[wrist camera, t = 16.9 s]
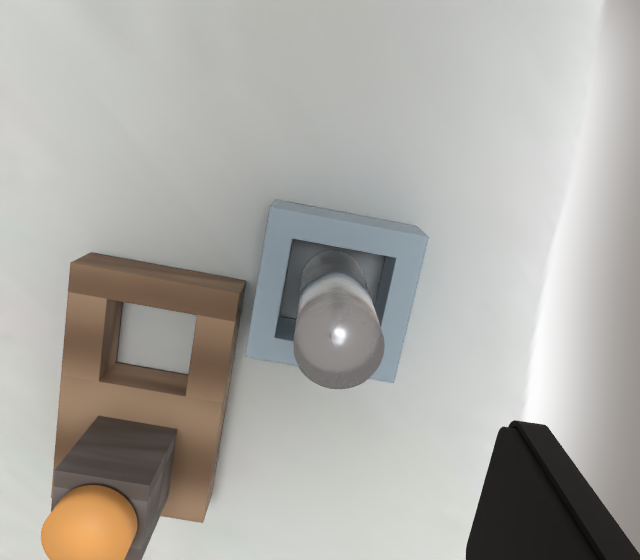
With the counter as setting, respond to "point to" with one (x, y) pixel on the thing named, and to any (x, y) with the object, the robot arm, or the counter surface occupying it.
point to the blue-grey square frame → (346, 232)
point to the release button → (90, 525)
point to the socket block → (143, 391)
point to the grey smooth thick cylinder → (336, 323)
